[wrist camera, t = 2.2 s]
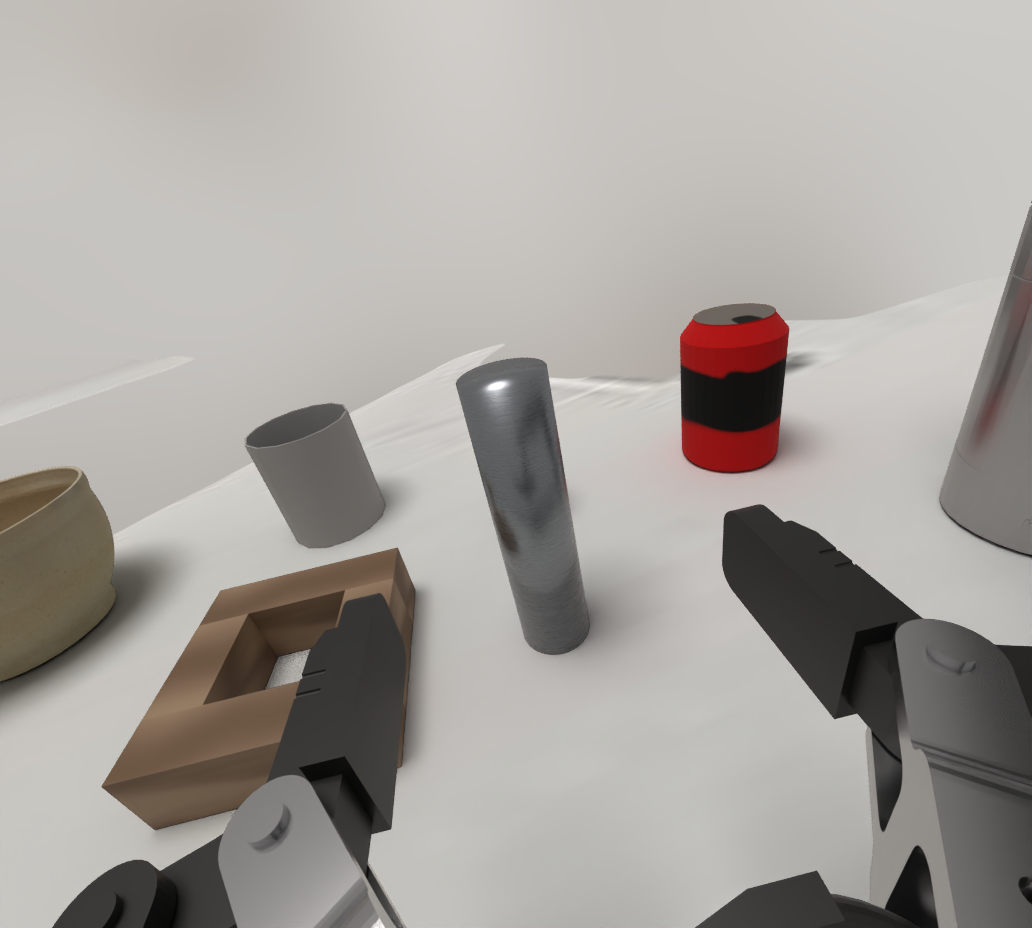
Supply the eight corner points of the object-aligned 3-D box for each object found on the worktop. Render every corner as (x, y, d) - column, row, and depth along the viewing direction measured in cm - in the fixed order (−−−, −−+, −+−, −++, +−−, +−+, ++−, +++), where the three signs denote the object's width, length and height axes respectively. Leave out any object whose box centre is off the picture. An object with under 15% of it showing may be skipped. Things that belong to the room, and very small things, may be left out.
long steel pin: (540, 594, 30) (487, 358, 22) (599, 609, 28) (561, 356, 20) (511, 642, 27) (437, 391, 19) (573, 663, 25) (518, 392, 17)
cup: (277, 549, 41) (221, 452, 36) (325, 496, 48) (283, 409, 43) (362, 545, 39) (314, 442, 34) (398, 491, 46) (363, 398, 41)
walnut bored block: (249, 631, 32) (220, 590, 30) (415, 590, 33) (397, 547, 31) (154, 829, 22) (101, 786, 20) (401, 766, 22) (372, 718, 20)
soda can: (703, 481, 37) (705, 335, 31) (669, 441, 44) (665, 314, 38) (796, 463, 37) (815, 312, 31) (747, 425, 44) (755, 295, 38)
